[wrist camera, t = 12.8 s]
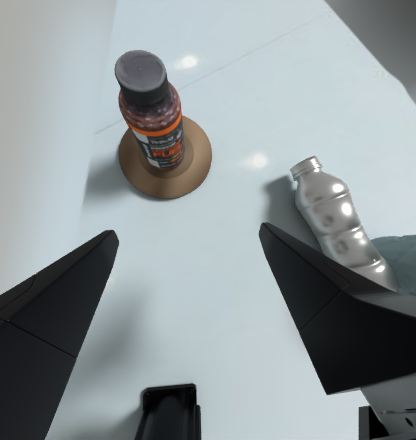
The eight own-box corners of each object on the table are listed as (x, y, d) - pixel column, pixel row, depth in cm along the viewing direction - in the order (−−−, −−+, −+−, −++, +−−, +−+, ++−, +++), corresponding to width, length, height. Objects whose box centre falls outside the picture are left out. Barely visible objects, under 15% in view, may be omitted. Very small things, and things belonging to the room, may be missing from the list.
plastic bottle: (397, 280, 21) (328, 153, 23) (418, 311, 16) (327, 143, 18) (339, 284, 25) (286, 176, 27) (340, 309, 20) (274, 174, 22)
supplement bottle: (162, 179, 22) (128, 115, 11) (137, 150, 23) (82, 59, 12) (193, 157, 23) (192, 77, 12) (169, 129, 24) (147, 27, 13)
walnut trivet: (119, 198, 22) (115, 196, 21) (124, 115, 25) (121, 109, 24) (212, 198, 24) (213, 196, 23) (210, 119, 26) (210, 114, 25)
